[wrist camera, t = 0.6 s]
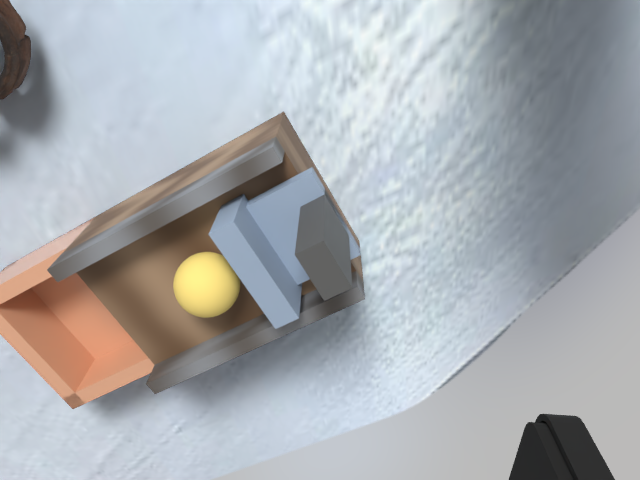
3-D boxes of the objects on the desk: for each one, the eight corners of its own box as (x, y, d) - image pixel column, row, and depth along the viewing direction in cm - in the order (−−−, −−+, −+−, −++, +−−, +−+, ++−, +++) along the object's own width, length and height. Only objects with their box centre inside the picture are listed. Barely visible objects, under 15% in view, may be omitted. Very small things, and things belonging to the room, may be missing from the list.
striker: (308, 159, 32) (302, 206, 26) (363, 253, 35) (370, 317, 29) (221, 205, 34) (196, 261, 27) (280, 292, 36) (270, 361, 30)
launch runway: (283, 111, 38) (272, 146, 30) (359, 241, 42) (365, 298, 35) (96, 216, 41) (46, 269, 34) (182, 325, 45) (155, 394, 38)
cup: (96, 216, 41) (67, 247, 37) (182, 325, 45) (166, 365, 41) (6, 266, 43) (-32, 301, 39) (97, 366, 47) (72, 409, 43)
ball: (222, 230, 35) (209, 261, 31) (256, 279, 36) (247, 314, 33) (169, 257, 36) (151, 290, 32) (204, 304, 37) (191, 340, 34)
